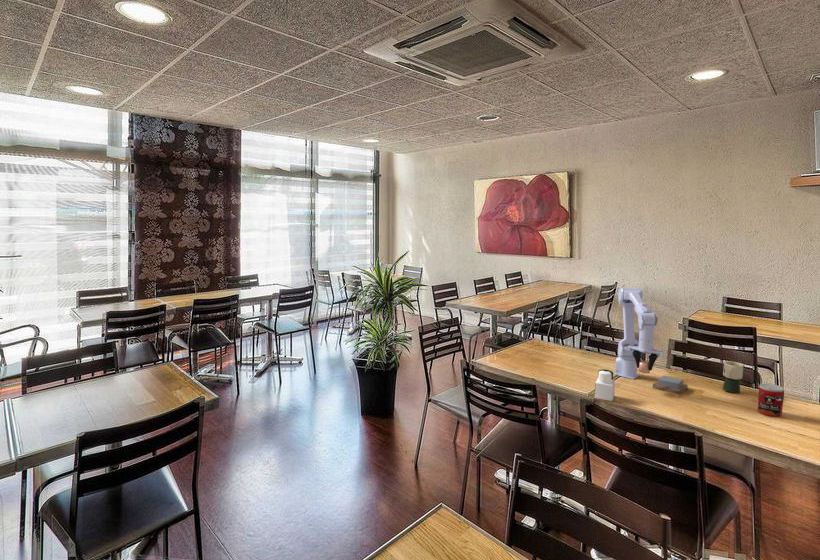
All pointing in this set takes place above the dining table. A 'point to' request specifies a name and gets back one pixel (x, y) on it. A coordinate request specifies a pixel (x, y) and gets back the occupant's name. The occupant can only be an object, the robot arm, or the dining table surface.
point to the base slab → (670, 390)
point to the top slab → (670, 382)
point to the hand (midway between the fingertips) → (644, 368)
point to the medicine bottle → (605, 385)
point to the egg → (644, 367)
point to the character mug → (732, 376)
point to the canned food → (770, 400)
